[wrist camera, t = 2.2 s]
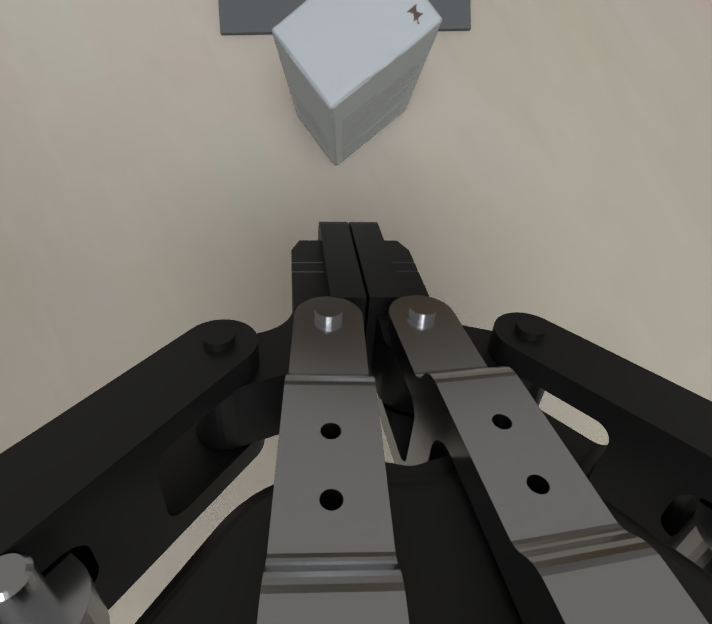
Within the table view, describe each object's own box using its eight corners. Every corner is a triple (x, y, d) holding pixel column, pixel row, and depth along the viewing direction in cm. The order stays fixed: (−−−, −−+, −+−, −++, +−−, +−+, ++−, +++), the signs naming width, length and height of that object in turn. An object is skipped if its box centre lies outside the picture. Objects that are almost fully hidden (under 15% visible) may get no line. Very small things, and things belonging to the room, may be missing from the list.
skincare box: (365, 57, 31) (384, -70, 19) (406, 111, 32) (448, 19, 20) (293, 116, 31) (267, 26, 19) (334, 169, 32) (333, 113, 20)
